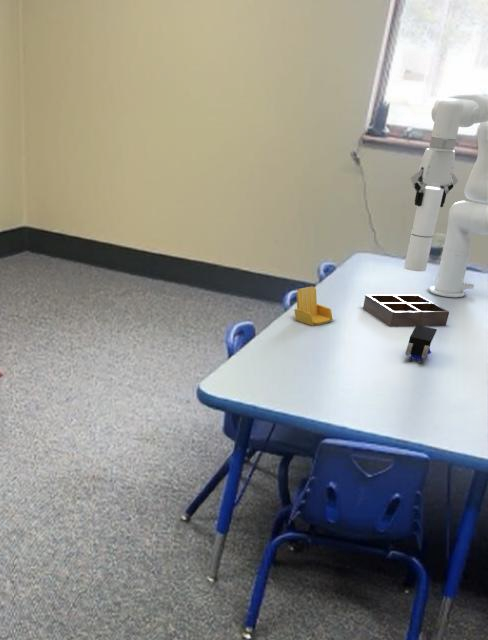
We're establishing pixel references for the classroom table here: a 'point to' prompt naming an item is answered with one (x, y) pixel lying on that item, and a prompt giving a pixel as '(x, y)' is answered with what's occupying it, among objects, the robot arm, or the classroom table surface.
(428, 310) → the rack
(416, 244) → the cylindrical container
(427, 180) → the robot arm
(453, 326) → the classroom table surface
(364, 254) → the classroom table surface
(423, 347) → the figurine character
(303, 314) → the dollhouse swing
